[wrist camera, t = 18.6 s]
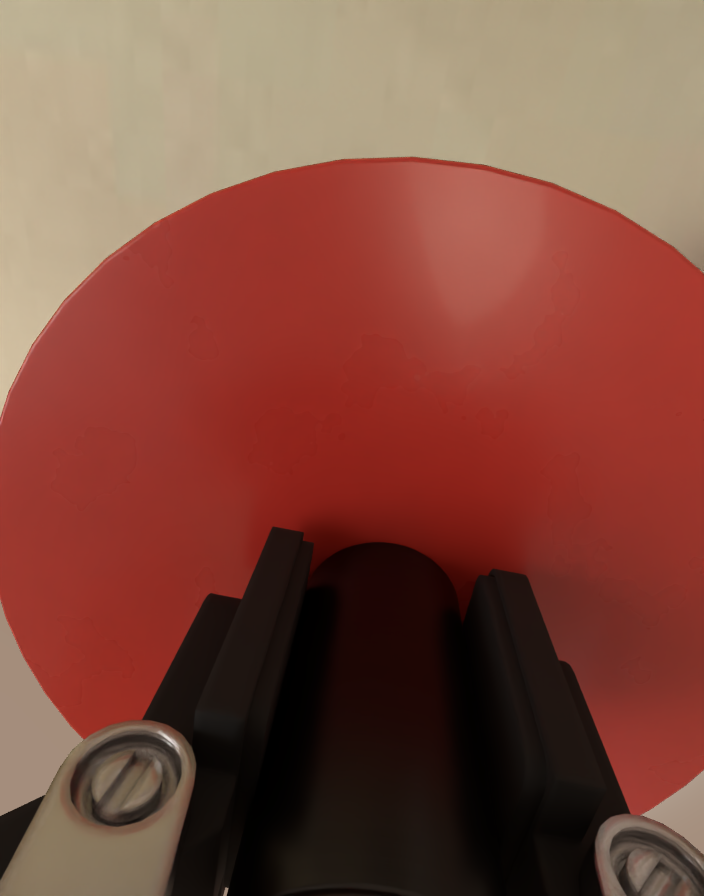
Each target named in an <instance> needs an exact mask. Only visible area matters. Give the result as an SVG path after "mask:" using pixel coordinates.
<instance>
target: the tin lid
mask: <svg viewBox="0 0 704 896" xmlns="http://www.w3.org/2000/svg"><path fill="white" fill-rule="evenodd" d="M273 526H274V527H280V528H285V529H290V530H295V531H300V532H304V537H303V541H308V542H313V543H314V548H313V554H312V560H311V566H310V572H309V577H308V583H307V589H306V594H305V598H304V602H303V606H302V610H301V614H300V618H299V622H298V626H297V630H296V634H295V638H294V642H293V646H292V650H291V654H290V658H289V662H288V666H287V670H286V674H285V677H284V681H283V685H282V689H281V693H280V697H279V701H278V705H277V709H276V713H275V717H274V721H273V725H272V729H271V733H270V737H269V741H268V745H267V749H266V753H265V757H264V761H263V765H262V769H261V773H260V777H259V781H258V785H257V789H256V793H255V797H254V799H253V802H252V804H251V806H250V808H249V811H248V814H247V818H246V822H245V826H244V830H243V834H242V838H241V842H240V846H239V850H238V854H237V857H236V861H235V865H234V869H233V873H232V877H231V881H230V885H229V889H228V893H227V896H507V894H506V887H505V881H504V875H503V869H502V863H501V857H500V851H499V845H498V839H497V833H496V827H495V821H494V815H493V809H492V803H491V797H490V791H489V785H488V779H487V772H486V766H485V760H484V754H483V748H482V742H481V736H480V730H479V724H478V718H477V712H476V706H475V700H474V694H473V688H472V682H471V676H470V670H469V663H468V657H467V651H466V645H465V639H464V633H463V627H462V625H463V622H464V619H465V615H466V612H467V609H468V605H469V602H470V599H471V596H472V592H473V589H474V586H475V583H476V580H477V578H478V576H479V575H486V576H488V575H489V573H490V571H491V570H492V569H493V568H494V569H499V570H504V571H509V572H514V573H520V574H524V575H526V576H527V578H528V579H529V582H530V585H531V587H532V590H533V593H534V596H535V598H536V601H537V604H538V606H539V609H540V612H541V614H542V617H543V620H544V622H545V625H546V628H547V630H548V633H549V636H550V638H551V641H552V644H553V646H554V649H555V652H556V654H557V657H558V660H561V661H565V662H567V663H568V664H570V666H571V667H572V669H573V671H574V673H575V675H576V678H577V680H578V683H579V685H580V688H581V690H582V693H583V695H584V698H585V700H586V703H587V705H588V708H589V710H590V713H591V715H592V718H593V720H594V723H595V725H596V728H597V730H598V733H599V735H600V738H601V740H602V743H603V745H604V748H605V750H606V753H607V755H608V758H609V760H610V763H611V765H612V768H613V770H614V773H615V775H616V778H617V780H618V783H619V785H620V788H621V790H622V793H623V795H624V798H625V801H626V803H627V806H628V808H629V811H630V813H631V814H632V815H642V814H644V813H645V812H647V811H649V810H651V809H652V808H654V807H655V806H656V805H658V804H659V803H661V802H662V801H664V800H665V799H667V798H668V797H670V796H671V795H673V794H674V793H676V792H677V791H678V790H680V789H681V788H683V787H684V786H686V785H687V784H688V783H689V782H690V781H692V780H693V779H694V778H695V777H696V776H697V775H699V774H700V773H701V772H702V771H703V770H704V273H703V272H702V271H700V270H699V269H698V268H697V267H696V266H695V265H694V264H692V263H691V262H690V261H689V260H688V259H687V258H686V257H684V256H683V255H682V254H681V253H680V252H679V251H678V250H677V249H675V248H674V247H673V246H672V245H670V244H668V243H667V242H665V241H664V240H662V239H660V238H659V237H657V236H656V235H654V234H652V233H651V232H649V231H648V230H646V229H645V228H643V227H641V226H640V225H638V224H637V223H635V222H633V221H632V220H630V219H629V218H627V217H626V216H624V215H622V214H621V213H619V212H618V211H616V210H614V209H611V208H609V207H607V206H605V205H602V204H600V203H598V202H595V201H593V200H591V199H588V198H586V197H584V196H581V195H579V194H577V193H575V192H572V191H570V190H568V189H565V188H563V187H561V186H558V185H556V184H554V183H551V182H547V181H543V180H540V179H536V178H532V177H528V176H525V175H521V174H517V173H513V172H509V171H506V170H502V169H498V168H494V167H491V166H487V165H482V164H473V163H464V162H455V161H447V160H438V159H429V158H420V157H391V158H362V159H341V160H335V161H330V162H324V163H319V164H313V165H308V166H302V167H297V168H292V169H286V170H281V171H275V172H272V173H269V174H266V175H263V176H260V177H257V178H254V179H251V180H248V181H246V182H243V183H240V184H237V185H234V186H231V187H228V188H225V189H222V190H219V191H216V192H213V193H211V194H209V195H207V196H205V197H203V198H201V199H199V200H197V201H195V202H193V203H191V204H189V205H188V206H186V207H184V208H182V209H180V210H178V211H176V212H174V213H172V214H170V215H168V216H166V217H164V218H163V219H161V220H159V221H157V222H155V223H153V224H152V225H151V226H149V227H148V228H147V229H145V230H144V231H142V232H141V233H140V234H138V235H137V236H136V237H134V238H133V239H132V240H130V241H129V242H127V243H126V244H125V245H123V246H122V247H121V248H119V249H118V250H116V251H115V252H114V253H112V254H111V255H110V256H108V257H107V258H106V259H104V260H103V261H102V263H101V264H100V265H99V266H98V267H97V268H96V269H95V270H94V271H93V272H92V273H91V274H90V275H89V276H88V277H87V278H86V279H85V280H84V281H83V282H82V283H81V284H80V285H79V286H78V287H77V288H76V289H75V290H74V291H73V292H72V293H71V294H70V295H69V296H68V297H67V298H66V299H65V300H64V301H63V303H62V304H61V305H60V307H59V308H58V309H57V311H56V312H55V314H54V315H53V316H52V318H51V319H50V321H49V322H48V323H47V325H46V326H45V328H44V329H43V330H42V332H41V333H40V334H39V336H38V337H37V339H36V340H35V341H34V343H33V344H32V346H31V348H30V350H29V352H28V354H27V356H26V358H25V360H24V362H23V364H22V366H21V368H20V370H19V372H18V374H17V376H16V378H15V380H14V382H13V384H12V386H11V388H10V390H9V392H8V395H7V398H6V402H5V405H4V408H3V411H2V414H1V418H0V600H1V603H2V607H3V610H4V614H5V617H6V619H7V622H8V624H9V626H10V628H11V630H12V633H13V635H14V637H15V640H16V642H17V644H18V646H19V649H20V651H21V653H22V655H23V657H24V659H25V661H26V662H27V664H28V665H29V667H30V669H31V671H32V672H33V674H34V676H35V677H36V679H37V680H38V682H39V684H40V686H41V687H42V689H43V691H44V692H45V694H46V695H47V696H48V698H49V699H50V700H51V701H52V703H53V704H54V705H55V707H56V708H57V709H58V710H59V712H60V713H61V714H62V716H63V717H64V718H65V719H66V721H67V722H68V723H69V725H70V726H71V727H72V728H73V729H74V730H75V731H76V732H77V733H78V734H79V735H80V736H81V737H82V738H83V739H86V738H87V737H88V736H89V735H91V734H93V733H95V732H97V731H99V730H101V729H103V728H105V727H107V726H109V725H112V724H116V723H120V722H124V721H128V720H142V718H143V717H144V715H145V713H146V711H147V709H148V707H149V705H150V703H151V701H152V699H153V697H154V695H155V694H156V692H157V690H158V688H159V686H160V684H161V682H162V680H163V678H164V676H165V674H166V672H167V671H168V669H169V667H170V665H171V663H172V661H173V659H174V657H175V655H176V653H177V651H178V649H179V647H180V646H181V644H182V642H183V640H184V638H185V636H186V634H187V632H188V630H189V628H190V626H191V624H192V623H193V621H194V619H195V617H196V615H197V613H198V611H199V609H200V607H201V605H202V603H203V601H204V600H205V598H206V597H207V595H208V594H210V593H213V594H218V595H224V596H229V597H234V598H239V599H242V597H243V595H244V593H245V590H246V588H247V586H248V583H249V581H250V578H251V576H252V574H253V571H254V569H255V567H256V564H257V562H258V559H259V557H260V555H261V552H262V550H263V548H264V545H265V543H266V540H267V538H268V536H269V533H270V531H271V529H272V527H273Z"/></svg>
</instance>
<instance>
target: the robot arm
mask: <svg viewBox="0 0 704 896" xmlns="http://www.w3.org/2000/svg"><path fill="white" fill-rule="evenodd" d="M303 537H304V532H300V531H295V530H290V529H285V528H280V527H274V526H273V527H272V529H271V531H270V533H269V536H268V538H267V540H266V543H265V545H264V548H263V550H262V552H261V555H260V557H259V559H258V562H257V564H256V567H255V569H254V571H253V574H252V576H251V578H250V581H249V583H248V586H247V588H246V590H245V593H244V595H243V597H242V599H239V598H234V597H229V596H224V595H218V594H213V593H210V594H208V595H207V597H206V598H205V600H204V601H203V603H202V605H201V607H200V609H199V611H198V613H197V615H196V617H195V619H194V621H193V623H192V624H191V626H190V628H189V630H188V632H187V634H186V636H185V638H184V640H183V642H182V644H181V646H180V647H179V649H178V651H177V653H176V655H175V657H174V659H173V661H172V663H171V665H170V667H169V669H168V671H167V672H166V674H165V676H164V678H163V680H162V682H161V684H160V686H159V688H158V690H157V692H156V694H155V695H154V697H153V699H152V701H151V703H150V705H149V707H148V709H147V711H146V713H145V715H144V717H143V718H142V720H128V721H124V722H120V723H116V724H112V725H109V726H107V727H105V728H103V729H101V730H99V731H97V732H95V733H93V734H91V735H89V736H88V737H87V738H86V739H84V740H83V741H82V742H81V743H80V744H78V745H77V746H76V747H75V748H74V749H73V750H72V751H71V752H70V754H69V755H68V757H67V758H66V759H65V761H64V762H63V764H62V765H61V766H60V768H59V770H58V772H57V774H56V776H55V778H54V779H53V781H52V783H51V785H50V787H49V789H48V791H47V793H46V795H44V796H42V797H40V798H37V799H35V800H33V801H31V802H29V803H27V804H25V805H23V806H21V807H19V808H17V809H14V810H12V811H10V812H8V813H6V814H4V815H2V816H0V896H223V894H224V890H225V887H227V888H229V885H230V881H231V877H232V873H233V869H234V865H235V861H236V857H237V854H238V850H239V846H240V842H241V838H242V834H243V830H244V826H245V822H246V818H247V814H248V811H249V808H250V806H251V804H252V802H253V799H254V797H255V793H256V789H257V785H258V781H259V777H260V773H261V769H262V765H263V761H264V757H265V753H266V749H267V745H268V741H269V737H270V733H271V729H272V725H273V721H274V717H275V713H276V709H277V705H278V701H279V697H280V693H281V689H282V685H283V681H284V677H285V674H286V670H287V666H288V662H289V658H290V654H291V650H292V646H293V642H294V638H295V634H296V630H297V626H298V622H299V618H300V614H301V610H302V606H303V602H304V598H305V594H306V589H307V583H308V577H309V572H310V566H311V560H312V554H313V548H314V543H313V542H308V541H303ZM462 627H463V633H464V639H465V645H466V651H467V657H468V663H469V670H470V676H471V682H472V688H473V694H474V700H475V706H476V712H477V718H478V724H479V730H480V736H481V742H482V748H483V754H484V760H485V766H486V772H487V779H488V785H489V791H490V797H491V803H492V809H493V815H494V821H495V827H496V833H497V839H498V845H499V851H500V857H501V863H502V869H503V875H504V881H505V887H506V894H507V896H704V855H703V854H702V853H701V852H700V851H699V850H698V849H696V848H695V847H694V846H693V845H692V844H691V843H690V842H689V841H687V840H686V839H685V838H684V837H682V836H681V835H680V834H678V833H676V832H675V831H673V830H672V829H670V828H669V827H667V826H665V825H664V824H662V823H660V822H657V821H655V820H652V819H649V818H647V817H644V816H640V815H632V814H631V813H630V811H629V808H628V806H627V803H626V801H625V798H624V795H623V793H622V790H621V788H620V785H619V783H618V780H617V778H616V775H615V773H614V770H613V768H612V765H611V763H610V760H609V758H608V755H607V753H606V750H605V748H604V745H603V743H602V740H601V738H600V735H599V733H598V730H597V728H596V725H595V723H594V720H593V718H592V715H591V713H590V710H589V708H588V705H587V703H586V700H585V698H584V695H583V693H582V690H581V688H580V685H579V683H578V680H577V678H576V675H575V673H574V671H573V669H572V667H571V666H570V664H568V663H567V662H565V661H561V660H558V657H557V654H556V652H555V649H554V646H553V644H552V641H551V638H550V636H549V633H548V630H547V628H546V625H545V622H544V620H543V617H542V614H541V612H540V609H539V606H538V604H537V601H536V598H535V596H534V593H533V590H532V587H531V585H530V582H529V579H528V578H527V576H526V575H524V574H520V573H514V572H509V571H504V570H499V569H494V568H493V569H492V570H491V571H490V573H489V575H488V576H486V575H479V576H478V578H477V580H476V583H475V586H474V589H473V592H472V596H471V599H470V602H469V605H468V609H467V612H466V615H465V619H464V622H463V625H462Z"/></svg>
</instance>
